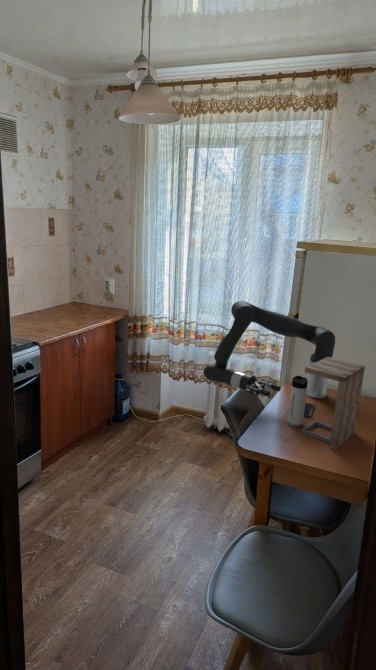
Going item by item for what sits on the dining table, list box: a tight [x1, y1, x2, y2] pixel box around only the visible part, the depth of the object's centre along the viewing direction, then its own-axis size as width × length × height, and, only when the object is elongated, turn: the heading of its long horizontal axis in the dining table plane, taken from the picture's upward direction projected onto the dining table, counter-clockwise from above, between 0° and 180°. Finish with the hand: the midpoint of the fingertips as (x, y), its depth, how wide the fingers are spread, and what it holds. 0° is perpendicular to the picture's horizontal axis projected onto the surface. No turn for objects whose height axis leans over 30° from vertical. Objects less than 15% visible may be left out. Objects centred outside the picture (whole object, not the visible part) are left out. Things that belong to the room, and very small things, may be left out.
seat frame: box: [300, 420, 333, 444], centre depth 184 cm, size 12×12×2 cm
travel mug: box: [287, 375, 308, 428], centre depth 189 cm, size 6×7×20 cm
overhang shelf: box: [304, 357, 366, 451], centre depth 180 cm, size 20×16×28 cm
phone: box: [303, 402, 316, 419], centre depth 206 cm, size 8×1×15 cm
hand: (275, 391), depth 196 cm, fingers open, 8 cm apart
